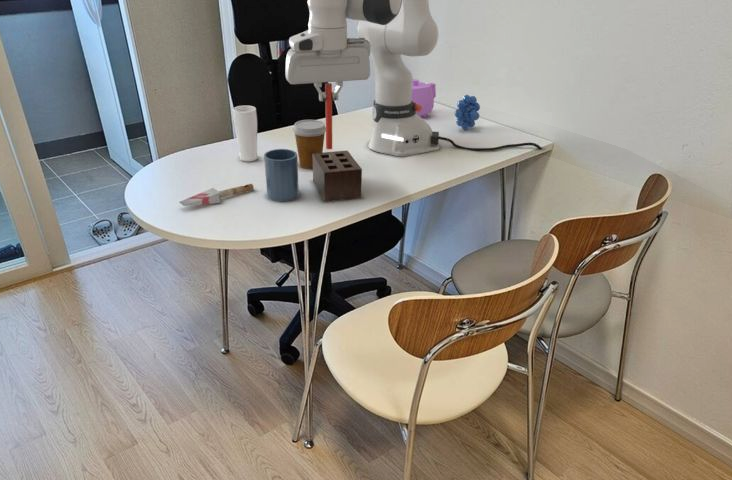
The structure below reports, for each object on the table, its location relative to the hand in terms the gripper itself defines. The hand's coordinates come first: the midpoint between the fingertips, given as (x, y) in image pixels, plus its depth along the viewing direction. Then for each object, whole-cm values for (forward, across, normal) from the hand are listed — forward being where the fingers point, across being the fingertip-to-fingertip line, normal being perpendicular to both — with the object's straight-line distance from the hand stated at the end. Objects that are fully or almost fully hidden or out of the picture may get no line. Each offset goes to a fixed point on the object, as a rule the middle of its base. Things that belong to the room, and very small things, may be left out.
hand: (328, 100), depth 135 cm
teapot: (+24, -45, -58) cm, 77 cm away
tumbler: (+24, +13, 0) cm, 27 cm away
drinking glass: (+24, +18, -28) cm, 41 cm away
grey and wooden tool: (+24, +29, -1) cm, 38 cm away
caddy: (+24, -2, 0) cm, 24 cm away
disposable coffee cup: (+24, +1, -19) cm, 30 cm away
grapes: (+24, -58, -37) cm, 73 cm away
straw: (+12, 0, 0) cm, 12 cm away
